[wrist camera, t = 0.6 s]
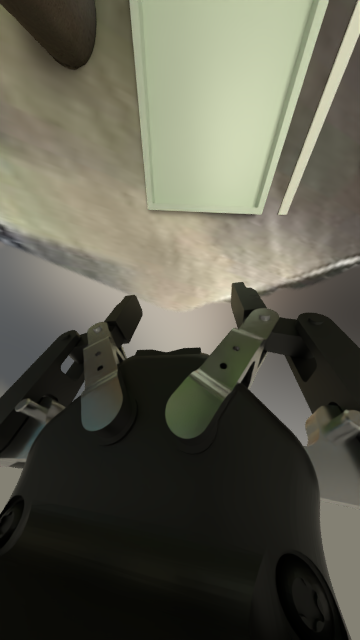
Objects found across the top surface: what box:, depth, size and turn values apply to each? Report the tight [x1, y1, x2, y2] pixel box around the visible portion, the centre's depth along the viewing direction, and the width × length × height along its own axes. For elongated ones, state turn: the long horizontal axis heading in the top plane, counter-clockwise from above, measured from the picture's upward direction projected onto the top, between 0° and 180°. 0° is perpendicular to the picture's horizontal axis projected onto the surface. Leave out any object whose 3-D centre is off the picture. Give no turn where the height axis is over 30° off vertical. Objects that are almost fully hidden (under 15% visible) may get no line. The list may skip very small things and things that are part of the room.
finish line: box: [278, 0, 360, 215], centre depth 22 cm, size 22×2×1 cm, turn 178°
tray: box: [129, 0, 329, 214], centre depth 22 cm, size 22×22×3 cm
